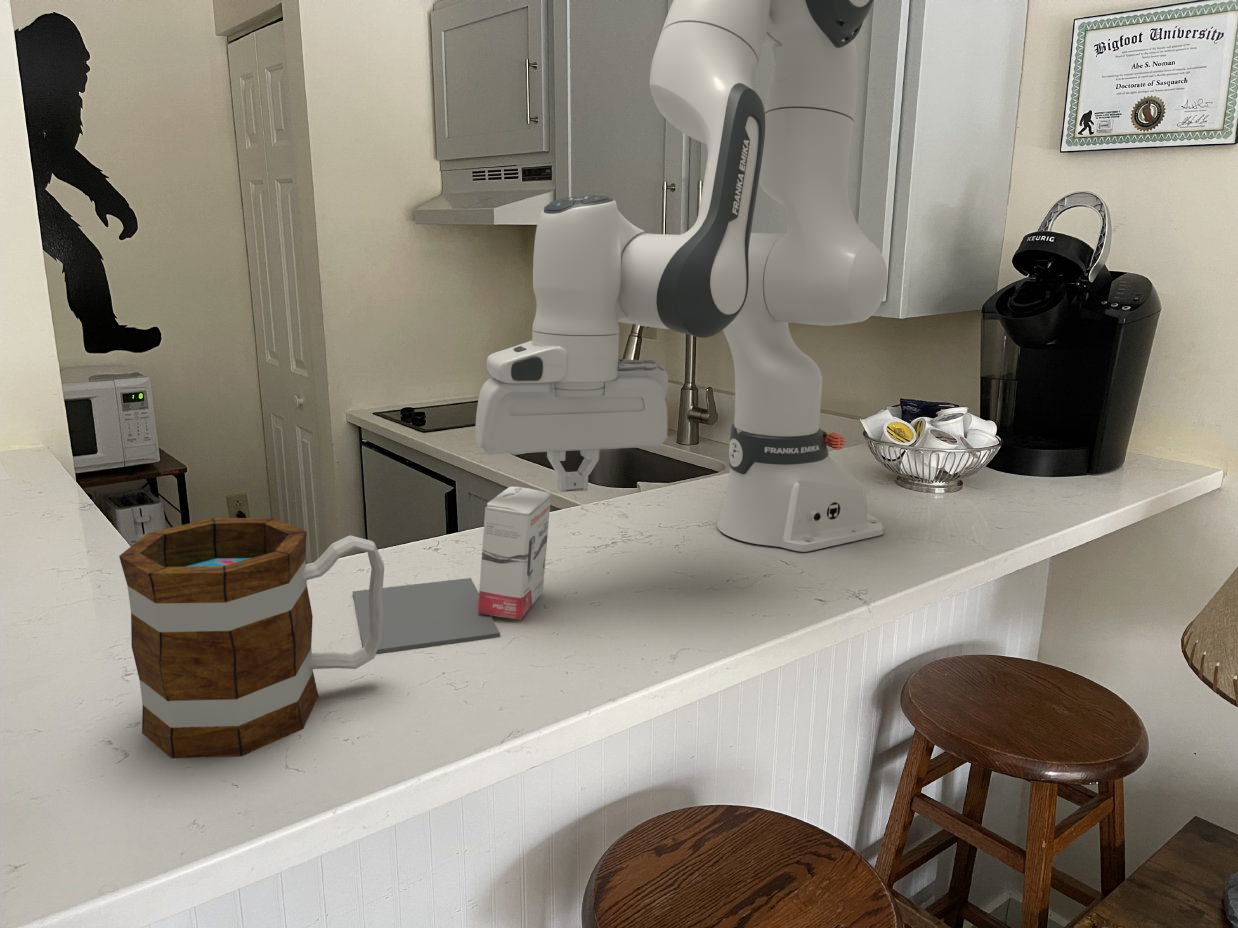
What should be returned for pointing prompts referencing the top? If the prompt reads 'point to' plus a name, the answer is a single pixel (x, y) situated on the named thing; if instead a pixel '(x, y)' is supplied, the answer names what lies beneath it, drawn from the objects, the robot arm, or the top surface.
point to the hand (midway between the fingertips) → (572, 490)
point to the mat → (426, 615)
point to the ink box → (513, 552)
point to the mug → (232, 632)
